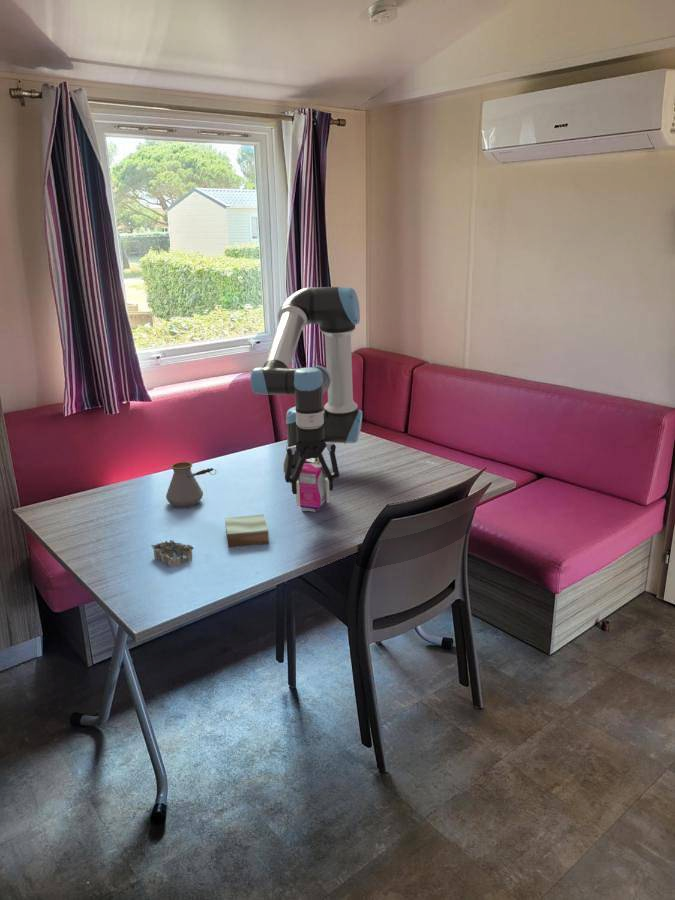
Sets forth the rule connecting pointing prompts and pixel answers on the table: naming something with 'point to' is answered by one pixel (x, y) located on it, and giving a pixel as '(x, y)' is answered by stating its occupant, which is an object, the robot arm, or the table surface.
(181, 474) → the coffee pot
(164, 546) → the rocky terrain model
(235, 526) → the block
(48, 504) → the table surface
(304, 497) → the supplement box
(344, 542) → the table surface
